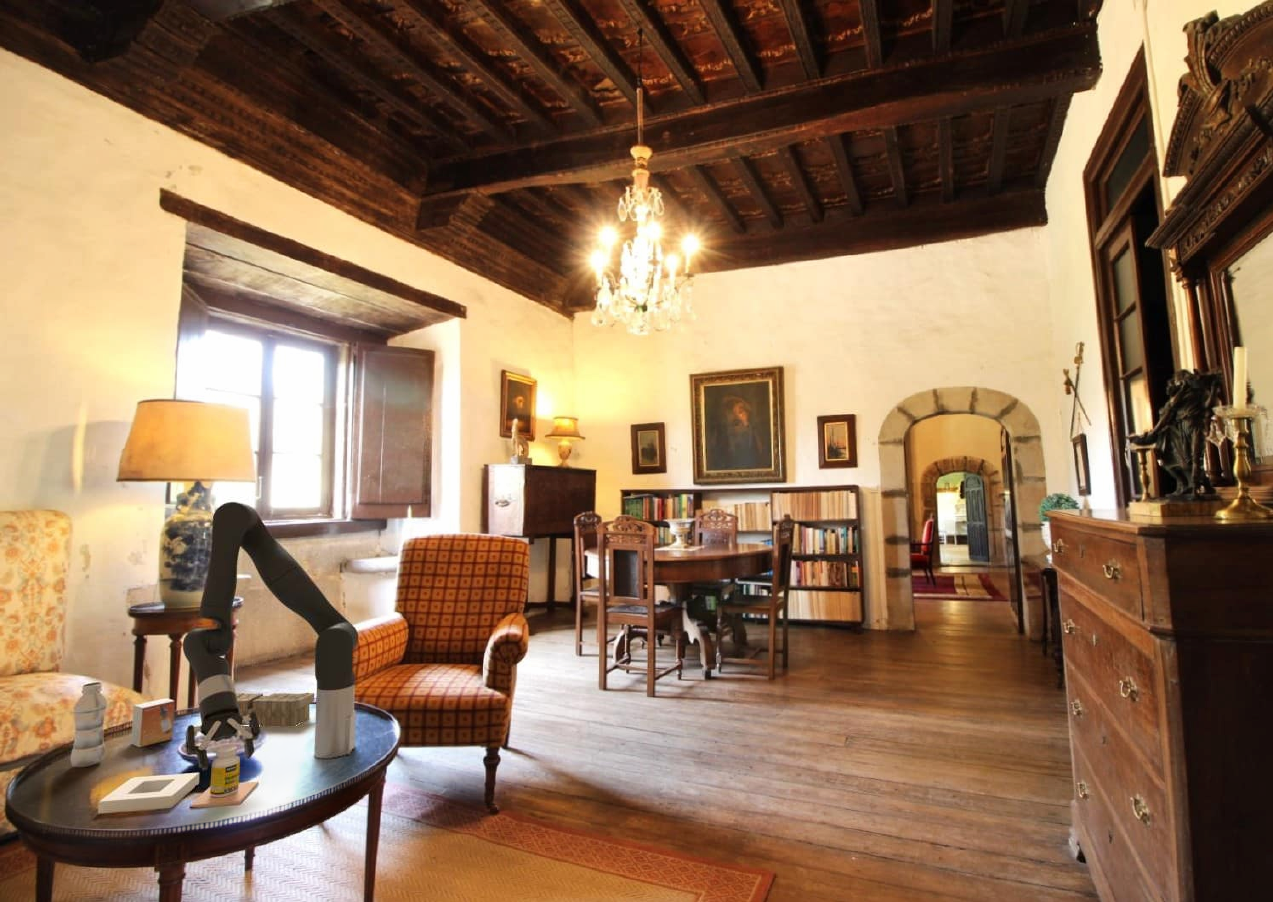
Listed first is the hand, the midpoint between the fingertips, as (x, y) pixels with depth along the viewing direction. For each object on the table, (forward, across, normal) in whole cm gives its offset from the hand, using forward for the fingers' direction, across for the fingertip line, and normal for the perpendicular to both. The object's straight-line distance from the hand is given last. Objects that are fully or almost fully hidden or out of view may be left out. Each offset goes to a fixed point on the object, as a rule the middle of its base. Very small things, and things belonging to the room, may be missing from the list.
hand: (228, 762), depth 143 cm
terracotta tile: (+5, 0, +6) cm, 7 cm away
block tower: (-29, +20, +41) cm, 54 cm away
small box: (-32, -6, +43) cm, 54 cm away
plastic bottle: (-27, -20, +38) cm, 50 cm away
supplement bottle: (+4, 0, +6) cm, 7 cm away
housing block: (-3, -12, +14) cm, 18 cm away
